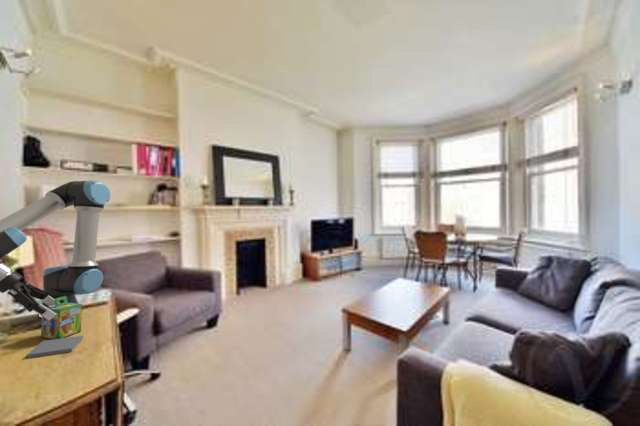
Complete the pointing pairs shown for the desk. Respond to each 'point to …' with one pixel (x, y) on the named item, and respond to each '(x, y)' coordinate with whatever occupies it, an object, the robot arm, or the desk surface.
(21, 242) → the robot arm
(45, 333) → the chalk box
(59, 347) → the charcoal mat
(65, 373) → the desk surface
